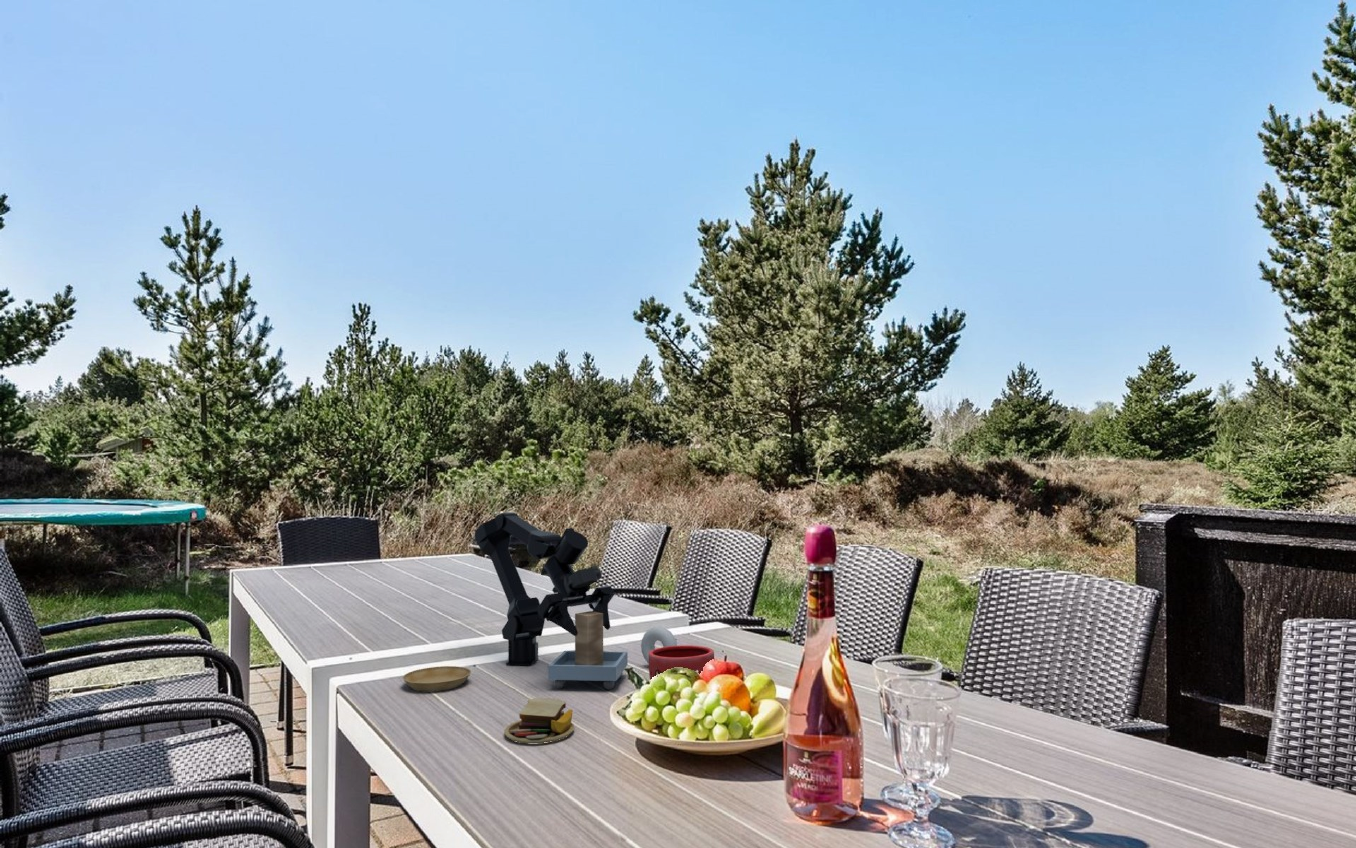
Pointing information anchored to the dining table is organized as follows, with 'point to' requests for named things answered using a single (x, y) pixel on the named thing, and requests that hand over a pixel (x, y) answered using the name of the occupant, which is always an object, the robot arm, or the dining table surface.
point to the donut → (653, 636)
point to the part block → (589, 638)
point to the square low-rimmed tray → (588, 669)
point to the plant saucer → (436, 678)
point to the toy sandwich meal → (541, 722)
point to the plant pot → (678, 658)
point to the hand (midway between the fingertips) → (593, 631)
